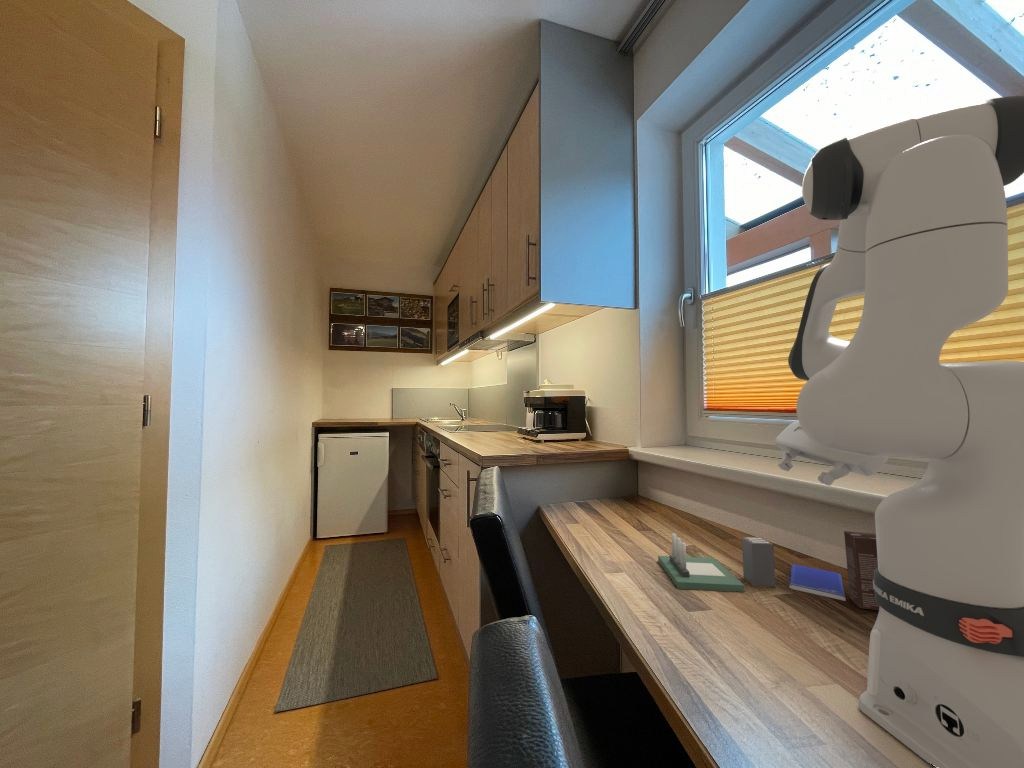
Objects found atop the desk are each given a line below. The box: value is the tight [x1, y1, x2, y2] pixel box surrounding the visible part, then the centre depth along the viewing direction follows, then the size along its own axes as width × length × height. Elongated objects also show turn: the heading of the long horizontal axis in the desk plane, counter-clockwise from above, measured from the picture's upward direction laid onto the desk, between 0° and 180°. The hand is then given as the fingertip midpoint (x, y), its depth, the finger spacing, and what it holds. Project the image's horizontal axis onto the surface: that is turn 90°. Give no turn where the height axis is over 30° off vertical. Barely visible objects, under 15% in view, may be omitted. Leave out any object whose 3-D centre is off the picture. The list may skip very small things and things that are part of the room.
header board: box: [657, 533, 746, 593], centre depth 81 cm, size 14×12×7 cm
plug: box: [741, 536, 776, 588], centre depth 78 cm, size 4×4×8 cm
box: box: [843, 530, 880, 611], centre depth 68 cm, size 6×4×12 cm
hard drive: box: [789, 564, 846, 602], centre depth 77 cm, size 2×8×12 cm
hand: (801, 475), depth 80 cm, fingers open, 8 cm apart
